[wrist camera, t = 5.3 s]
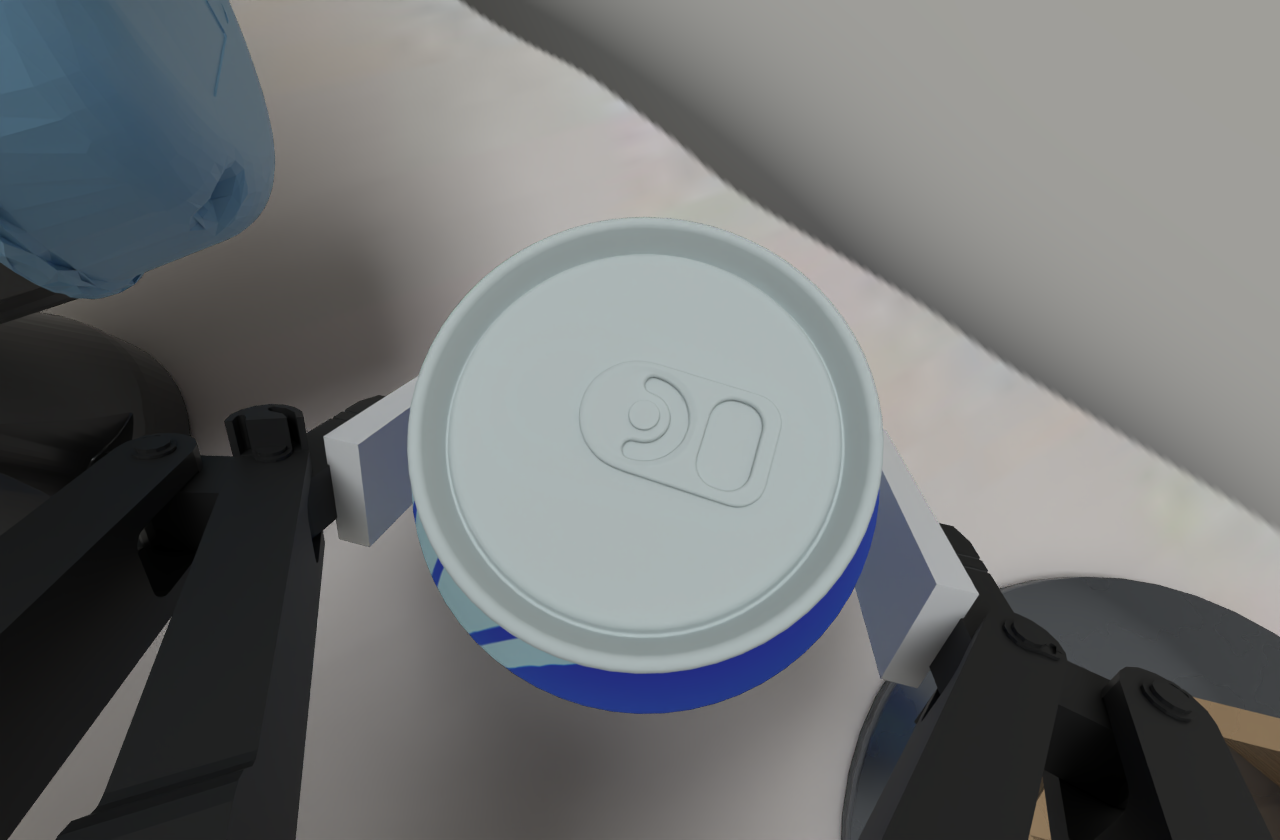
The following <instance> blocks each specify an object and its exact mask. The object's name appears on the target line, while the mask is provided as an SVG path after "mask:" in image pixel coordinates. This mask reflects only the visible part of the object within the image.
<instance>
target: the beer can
mask: <svg viewBox="0 0 1280 840" xmlns="http://www.w3.org/2000/svg"><path fill="white" fill-rule="evenodd" d="M883 445H884V438H883V424H882V415H881V409H880V404H879V398H878V394H877V390H876V387H875V383H874V380H873V376H872V373H871V371H870V368H869V365H868V363H867V360H866V358H865V355H864V353H863V351H862V349H861V347H860V345H859V343H858V341H857V339H856V338H855V336H854V334H853V332H852V331H851V329H850V328H849V326H848V325H847V323H846V321H845V320H844V318H843V317H842V316H841V314H840V313H839V312H838V310H837V309H836V308H835V307H834V305H833V304H832V303H831V301H830V300H829V299H828V298H827V297H826V296H825V295H824V294H823V293H822V292H821V291H820V290H819V288H818V287H817V286H816V285H815V284H813V283H812V282H811V281H810V280H809V279H808V278H807V277H806V276H805V275H803V274H802V273H801V272H800V271H799V270H797V269H796V268H795V267H793V266H792V265H791V264H789V263H788V262H787V261H785V260H784V259H782V258H781V257H779V256H777V255H776V254H774V253H773V252H771V251H769V250H768V249H766V248H764V247H762V246H760V245H758V244H756V243H754V242H752V241H750V240H748V239H746V238H744V237H741V236H739V235H736V234H734V233H731V232H729V231H726V230H722V229H719V228H716V227H713V226H710V225H705V224H701V223H696V222H692V221H686V220H678V219H671V218H656V217H634V218H621V219H611V220H605V221H600V222H595V223H589V224H586V225H582V226H578V227H575V228H571V229H568V230H565V231H563V232H560V233H557V234H554V235H552V236H549V237H547V238H545V239H543V240H541V241H539V242H536V243H534V244H532V245H530V246H529V247H527V248H525V249H523V250H522V251H520V252H518V253H516V254H515V255H513V256H512V257H510V258H509V259H507V260H506V261H504V262H503V263H502V264H500V265H499V266H497V267H496V268H495V269H494V270H492V271H491V272H490V273H489V274H488V275H486V276H485V277H484V278H483V279H482V280H481V281H480V282H479V283H478V284H477V285H476V286H474V287H473V288H472V289H471V290H470V291H469V292H468V293H467V294H466V296H465V297H464V298H463V299H462V300H461V302H460V303H459V304H458V305H457V306H456V307H455V309H454V310H453V311H452V313H451V314H450V316H449V317H448V318H447V320H446V321H445V323H444V324H443V326H442V327H441V329H440V331H439V332H438V334H437V336H436V338H435V339H434V341H433V343H432V345H431V347H430V349H429V351H428V353H427V355H426V358H425V360H424V362H423V364H422V367H421V370H420V373H419V376H418V379H417V382H416V385H415V389H414V393H413V398H412V402H411V406H410V414H409V422H408V436H407V455H408V468H409V476H410V482H411V489H412V502H413V513H414V518H415V524H416V529H417V534H418V538H419V541H420V545H421V548H422V551H423V555H424V558H425V561H426V563H427V566H428V568H429V570H430V573H431V575H432V578H433V580H434V582H435V584H436V586H437V588H438V590H439V592H440V593H441V595H442V597H443V599H444V601H445V603H446V604H447V606H448V607H449V608H450V610H451V611H452V613H453V614H454V616H455V617H456V619H457V620H458V622H459V623H460V624H461V625H462V626H463V628H464V629H465V630H466V631H467V632H468V633H469V635H470V636H471V637H472V638H473V639H474V640H475V642H476V643H478V644H479V645H480V646H481V647H482V648H483V649H484V650H485V651H486V652H487V653H488V654H489V655H490V656H491V657H493V658H494V659H495V660H496V661H497V662H499V663H500V664H501V665H503V666H504V667H505V668H507V669H508V670H509V671H511V672H512V673H513V674H515V675H517V676H518V677H520V678H522V679H523V680H525V681H527V682H528V683H530V684H532V685H534V686H535V687H537V688H539V689H541V690H544V691H546V692H548V693H550V694H553V695H555V696H557V697H559V698H562V699H565V700H568V701H571V702H574V703H577V704H580V705H583V706H587V707H592V708H597V709H602V710H607V711H612V712H623V713H634V714H651V713H669V712H677V711H685V710H691V709H695V708H699V707H703V706H707V705H711V704H715V703H718V702H721V701H724V700H726V699H729V698H732V697H735V696H737V695H740V694H742V693H744V692H746V691H748V690H750V689H752V688H754V687H756V686H758V685H760V684H762V683H764V682H765V681H767V680H768V679H770V678H772V677H773V676H775V675H776V674H778V673H779V672H781V671H782V670H784V669H785V668H787V667H788V666H789V665H790V664H791V663H793V662H794V661H795V660H796V659H798V658H799V657H800V656H801V655H803V654H804V653H805V652H806V651H807V650H808V649H809V648H810V647H811V646H812V645H813V644H814V643H815V642H816V641H817V640H818V639H819V638H820V637H821V636H822V635H823V633H824V632H825V631H826V630H827V628H828V627H829V626H830V624H831V623H832V622H833V621H834V619H835V618H836V617H837V616H838V614H839V612H840V611H841V609H842V608H843V606H844V604H845V603H846V601H847V600H848V598H849V597H850V595H851V593H852V591H853V589H854V587H855V585H856V583H857V581H858V579H859V577H860V574H861V572H862V570H863V567H864V564H865V561H866V559H867V556H868V553H869V550H870V547H871V543H872V539H873V535H874V531H875V527H876V521H877V514H878V506H879V492H880V481H881V474H882V466H883Z"/></svg>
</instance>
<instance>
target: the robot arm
mask: <svg viewBox="0 0 1280 840" xmlns="http://www.w3.org/2000/svg"><path fill="white" fill-rule="evenodd" d="M274 170H275V151H274V142H273V133H272V129H271V124H270V119H269V115H268V110H267V107H266V103H265V99H264V96H263V92H262V89H261V86H260V83H259V80H258V76H257V73H256V70H255V67H254V64H253V62H252V59H251V56H250V53H249V50H248V48H247V45H246V42H245V40H244V37H243V34H242V32H241V29H240V27H239V24H238V21H237V19H236V17H235V14H234V12H233V9H232V7H231V5H230V2H229V0H0V840H7V839H8V838H9V837H10V835H11V834H12V832H13V831H14V830H15V828H16V827H17V826H18V824H19V823H20V822H21V820H22V819H23V818H24V816H25V815H26V813H27V812H28V811H29V809H30V808H31V807H32V805H33V804H34V803H35V801H36V800H37V799H38V797H39V796H40V794H41V793H42V792H43V790H44V789H45V788H46V786H47V785H48V784H49V782H50V781H51V780H52V778H53V777H54V775H55V774H56V773H57V771H58V770H59V769H60V767H61V766H62V765H63V763H64V762H65V760H66V759H67V758H68V756H69V755H70V754H71V752H72V751H73V750H74V748H75V747H76V746H77V744H78V743H79V741H80V740H81V739H82V737H83V736H84V735H85V733H86V732H87V731H88V729H89V728H90V727H91V725H92V724H93V722H94V721H95V720H96V718H97V717H98V716H99V714H100V713H101V712H102V710H103V709H104V707H105V706H106V705H107V703H108V702H109V701H110V699H111V698H112V697H113V695H114V694H115V693H116V691H117V690H118V688H119V687H120V686H121V684H122V683H123V682H124V680H125V679H126V678H127V676H128V675H129V674H130V672H131V671H132V669H133V668H134V667H135V665H136V664H137V663H138V661H139V660H140V659H141V657H142V656H143V654H144V653H145V652H146V650H147V649H148V648H149V646H150V645H151V644H152V642H153V641H154V640H155V638H156V637H157V635H158V634H159V633H160V631H161V630H162V629H163V627H164V626H165V625H166V623H167V622H168V621H169V619H170V618H171V620H170V622H169V625H168V628H167V630H166V633H165V635H164V638H163V641H162V643H161V646H160V649H159V651H158V654H157V656H156V659H155V662H154V664H153V667H152V669H151V672H150V675H149V677H148V680H147V682H146V685H145V688H144V690H143V693H142V695H141V698H140V701H139V703H138V706H137V709H136V711H135V714H134V716H133V719H132V722H131V724H130V727H129V729H128V732H127V735H126V737H125V740H124V742H123V745H122V748H121V750H120V753H119V756H118V758H117V761H116V763H115V766H114V769H113V771H112V774H111V776H110V779H109V782H108V784H107V787H106V789H105V792H104V794H103V797H102V799H101V801H100V803H99V805H98V806H97V808H96V809H95V810H94V811H93V812H92V813H91V814H90V815H88V816H85V817H82V818H79V819H76V820H73V821H71V822H70V823H69V824H68V825H67V826H66V828H65V829H64V830H63V831H62V832H61V833H60V834H59V835H58V836H57V838H56V840H296V830H297V819H298V809H299V799H300V789H301V779H302V769H303V759H304V749H305V739H306V729H307V719H308V709H309V699H310V688H311V678H312V668H313V658H314V648H315V638H316V628H317V618H318V608H319V598H320V588H321V578H322V567H323V557H324V547H325V541H324V535H323V530H324V529H325V528H326V527H327V526H328V525H330V524H331V523H332V522H333V521H334V520H335V519H336V523H337V529H338V536H339V539H341V540H345V541H349V542H352V543H356V544H360V545H364V546H368V547H370V546H371V545H372V544H373V543H374V542H375V541H376V540H377V539H378V538H379V537H380V536H381V535H382V534H383V533H384V532H385V531H386V530H387V529H388V528H389V527H390V526H391V525H392V524H393V523H394V522H395V521H396V520H397V519H398V518H399V517H400V516H401V515H402V514H403V513H404V512H405V511H406V510H407V509H408V507H409V506H410V505H411V504H412V503H413V502H412V489H411V482H410V476H409V468H408V455H407V436H408V422H409V414H410V406H411V402H412V398H413V393H414V389H415V385H416V382H417V379H418V376H419V375H418V376H417V377H415V378H414V379H412V380H411V381H409V382H408V383H406V384H404V385H403V386H401V387H400V388H398V389H397V390H395V391H394V392H392V393H390V394H389V395H387V396H386V397H385V396H381V395H378V396H375V397H371V398H368V399H365V400H362V401H359V402H357V403H356V404H354V405H352V406H351V407H349V408H347V409H346V410H345V412H341V413H339V414H338V415H336V416H334V418H333V419H329V420H328V421H326V422H325V423H323V424H321V425H320V426H318V427H316V428H315V429H313V430H311V431H310V432H308V433H306V429H305V423H304V417H303V414H302V411H300V410H299V409H297V408H295V407H292V406H288V405H278V404H268V405H259V406H253V407H249V408H246V409H242V410H240V411H238V412H236V413H233V414H231V415H230V416H229V417H228V418H227V419H226V420H225V421H224V422H225V426H226V430H227V434H228V438H229V442H230V446H231V450H232V454H233V457H230V456H202V455H200V453H199V449H198V446H197V443H196V441H195V438H192V437H190V433H189V423H188V416H187V412H186V408H185V404H184V402H183V399H182V396H181V394H180V392H179V390H178V387H177V386H176V384H175V382H174V381H173V379H172V378H171V376H170V375H169V374H168V372H167V371H166V370H165V369H164V368H163V367H162V366H161V364H159V363H158V362H157V361H156V360H155V359H154V358H153V357H151V356H150V355H148V354H147V353H146V352H144V351H142V350H141V349H139V348H137V347H135V346H133V345H131V344H129V343H127V342H124V341H122V340H120V339H118V338H116V337H114V336H112V335H109V334H107V333H105V332H103V331H101V330H99V329H96V328H94V327H92V326H90V325H87V324H84V323H82V322H78V321H75V320H72V319H69V318H65V317H61V316H57V315H51V314H46V313H40V312H39V311H42V310H45V309H48V308H51V307H54V306H57V305H60V304H63V303H66V302H69V301H72V300H75V299H78V298H84V299H98V298H104V297H108V296H111V295H114V294H117V293H120V292H123V291H124V290H126V289H128V288H129V287H131V286H132V285H134V284H135V283H136V282H138V281H139V280H140V279H141V278H142V276H143V274H144V272H147V271H149V270H152V269H154V268H157V267H160V266H162V265H165V264H167V263H170V262H172V261H175V260H177V259H180V258H182V257H185V256H187V255H190V254H192V253H195V252H197V251H200V250H202V249H205V248H207V247H210V246H212V245H215V244H217V243H220V242H222V241H225V240H228V239H230V238H232V237H234V236H236V235H237V234H239V233H241V232H242V231H243V230H245V229H246V228H247V227H248V226H250V225H251V224H252V223H253V222H254V221H255V220H256V219H257V218H258V216H259V215H260V214H261V212H262V211H263V209H264V208H265V206H266V204H267V202H268V199H269V197H270V194H271V190H272V187H273V182H274ZM883 438H884V445H883V466H882V474H881V481H880V492H879V506H878V514H877V521H876V527H875V531H874V535H873V539H872V543H871V547H870V550H869V553H868V556H867V559H866V561H865V564H864V567H863V570H862V572H861V574H860V577H859V579H858V581H857V583H856V585H855V589H856V592H857V596H858V599H859V603H860V607H861V610H862V614H863V617H864V621H865V625H866V628H867V632H868V635H869V639H870V642H871V646H872V650H873V653H874V657H875V660H876V664H877V668H878V671H879V675H880V678H881V679H883V680H887V681H891V682H895V683H899V684H903V685H907V686H910V687H914V688H918V687H919V685H920V684H921V682H922V681H923V679H924V678H925V676H926V675H927V673H928V672H929V670H931V673H932V675H933V678H934V680H935V683H936V686H937V689H936V690H935V692H934V693H933V695H932V696H931V698H930V699H929V701H928V702H927V704H926V705H925V707H924V708H923V709H922V711H921V712H920V714H919V715H918V717H917V718H916V720H915V721H914V723H916V724H917V725H916V727H915V729H914V731H913V733H912V734H911V736H910V738H909V740H908V742H907V744H906V746H905V748H904V750H903V752H902V754H901V756H900V758H899V760H898V762H897V764H896V766H895V768H894V770H893V772H892V774H891V776H890V778H889V780H888V782H887V784H886V786H885V787H884V789H883V791H882V793H881V795H880V797H879V799H878V801H877V803H876V805H875V807H874V809H873V811H872V813H871V815H870V817H869V819H868V821H867V823H866V825H865V827H864V829H863V831H862V833H861V835H860V837H859V839H858V840H1028V839H1029V834H1030V830H1031V825H1032V821H1033V816H1034V812H1035V807H1036V803H1037V798H1038V794H1039V789H1040V785H1041V780H1042V776H1043V784H1044V791H1045V798H1046V806H1047V813H1048V820H1049V828H1050V835H1051V840H1273V838H1272V836H1271V834H1270V832H1269V830H1268V828H1267V826H1266V824H1265V821H1264V819H1263V817H1262V815H1261V813H1260V811H1259V809H1258V807H1257V805H1256V803H1255V801H1254V799H1253V797H1252V795H1251V793H1250V791H1249V789H1248V787H1247V785H1246V783H1245V781H1244V779H1243V777H1242V775H1241V773H1240V770H1239V768H1238V766H1237V764H1236V762H1235V760H1234V758H1233V756H1232V754H1231V752H1230V750H1229V748H1228V746H1227V744H1226V742H1225V740H1224V738H1223V736H1222V734H1221V732H1220V730H1219V728H1218V726H1217V724H1216V722H1215V721H1214V720H1213V718H1212V717H1211V715H1210V714H1209V713H1208V711H1207V710H1206V709H1205V708H1204V707H1203V706H1202V705H1201V704H1200V703H1199V702H1198V701H1196V700H1195V699H1194V698H1193V696H1192V695H1191V694H1189V693H1188V692H1187V691H1185V690H1184V689H1181V688H1180V686H1178V685H1177V684H1175V683H1173V682H1172V681H1170V680H1167V679H1165V678H1163V677H1161V676H1160V675H1158V674H1156V673H1153V672H1150V671H1148V670H1145V669H1142V668H1139V667H1125V668H1123V669H1121V670H1120V671H1119V672H1118V673H1117V674H1116V675H1115V676H1114V677H1113V678H1112V679H1111V680H1109V679H1107V678H1104V677H1102V676H1100V675H1098V674H1096V673H1093V672H1091V671H1089V670H1087V669H1085V668H1082V667H1080V666H1078V665H1076V664H1074V663H1071V662H1070V661H1068V660H1067V657H1066V653H1065V651H1064V650H1063V648H1062V647H1061V645H1060V644H1059V642H1058V641H1057V640H1056V639H1055V638H1054V637H1053V636H1052V635H1051V634H1050V633H1049V632H1048V631H1046V630H1045V629H1044V628H1042V627H1041V626H1039V625H1038V624H1036V623H1035V622H1033V621H1032V620H1030V619H1028V618H1026V617H1023V616H1021V615H1019V614H1017V613H1014V612H1013V610H1012V608H1011V607H1010V605H1009V604H1008V602H1007V600H1006V599H1005V597H1004V596H1003V594H1002V592H1001V591H1000V589H999V588H998V586H997V584H996V583H995V581H994V580H993V578H992V576H991V575H990V574H989V573H987V571H988V570H987V568H986V567H985V565H984V563H983V562H982V561H981V560H979V558H980V557H979V555H978V554H977V552H976V551H975V549H974V547H973V546H972V544H971V543H970V541H969V540H967V539H966V538H965V537H964V536H963V535H962V534H961V533H960V532H959V531H958V530H957V529H955V528H954V527H953V526H949V525H945V524H941V523H938V521H937V519H936V517H935V516H934V514H933V512H932V510H931V509H930V507H929V505H928V503H927V502H926V500H925V498H924V496H923V494H922V493H921V491H920V489H919V487H918V486H917V484H916V482H915V480H914V479H913V477H912V475H911V473H910V471H909V470H908V468H907V466H906V464H905V463H904V461H903V459H902V457H901V456H900V454H899V452H898V450H897V449H896V447H895V445H894V443H893V441H892V440H891V438H890V436H889V434H888V433H887V431H886V430H883ZM171 616H172V617H171Z"/></svg>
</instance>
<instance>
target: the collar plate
mask: <svg viewBox="0 0 1280 840" xmlns="http://www.w3.org/2000/svg"><path fill="white" fill-rule="evenodd" d="M1000 591H1001V592H1002V594H1003V596H1004V597H1005V599H1006V600H1007V602H1008V604H1009V605H1010V607H1011V608H1012V610H1013V612H1014V613H1017V614H1019V615H1021V616H1023V617H1026V618H1028V619H1030V620H1032V621H1033V622H1035V623H1036V624H1038V625H1039V626H1041V627H1042V628H1044V629H1045V630H1046V631H1048V632H1049V633H1050V634H1051V635H1052V636H1053V637H1054V638H1055V639H1056V640H1057V641H1058V642H1059V644H1060V645H1061V647H1062V648H1063V650H1064V651H1065V653H1066V657H1067V660H1068V661H1070V662H1071V663H1074V664H1076V665H1078V666H1080V667H1082V668H1085V669H1087V670H1089V671H1091V672H1093V673H1096V674H1098V675H1100V676H1102V677H1104V678H1107V679H1109V680H1111V679H1112V678H1113V677H1114V676H1115V675H1116V674H1117V673H1118V672H1119V671H1120V670H1121V669H1123V668H1125V667H1139V668H1142V669H1145V670H1148V671H1150V672H1153V673H1156V674H1158V675H1160V676H1161V677H1163V678H1165V679H1167V680H1170V681H1172V682H1173V683H1175V684H1177V685H1178V686H1180V688H1181V689H1184V690H1185V691H1187V692H1188V693H1189V694H1191V695H1192V696H1193V698H1194V699H1195V700H1196V701H1198V702H1199V703H1200V704H1201V705H1202V706H1203V707H1204V708H1205V709H1206V710H1207V711H1208V713H1209V714H1210V715H1211V717H1212V718H1213V720H1214V721H1215V722H1216V724H1217V726H1218V728H1219V730H1220V732H1221V734H1222V736H1223V738H1224V740H1225V742H1226V744H1227V746H1228V748H1229V750H1230V752H1231V754H1232V756H1233V758H1234V760H1235V762H1236V764H1237V766H1238V768H1239V770H1240V773H1241V775H1242V777H1243V779H1244V781H1245V783H1246V785H1247V787H1248V789H1249V791H1250V793H1251V795H1252V797H1253V799H1254V801H1255V803H1256V805H1257V807H1258V809H1259V811H1260V813H1261V815H1262V817H1263V819H1264V821H1265V824H1266V826H1267V828H1268V830H1269V832H1270V834H1271V836H1272V838H1273V840H1280V637H1279V636H1277V635H1276V634H1274V633H1273V632H1271V631H1269V630H1267V629H1265V628H1263V627H1262V626H1260V625H1258V624H1256V623H1254V622H1252V621H1251V620H1249V619H1247V618H1245V617H1243V616H1241V615H1240V614H1238V613H1236V612H1234V611H1231V610H1229V609H1226V608H1224V607H1222V606H1219V605H1217V604H1214V603H1212V602H1210V601H1207V600H1205V599H1203V598H1200V597H1198V596H1195V595H1191V594H1188V593H1184V592H1181V591H1178V590H1174V589H1171V588H1167V587H1164V586H1161V585H1156V584H1150V583H1145V582H1139V581H1133V580H1127V579H1120V578H1095V577H1064V578H1054V579H1044V580H1034V581H1029V582H1025V583H1021V584H1017V585H1013V586H1009V587H1005V588H1001V589H1000ZM936 689H937V686H936V683H935V680H934V678H933V675H932V673H931V670H929V672H928V673H927V675H926V676H925V678H924V679H923V681H922V682H921V684H920V685H919V687H918V688H914V687H910V686H907V685H903V684H899V683H895V682H891V681H887V680H886V682H885V683H884V685H883V687H882V688H881V690H880V691H879V693H878V695H877V696H876V698H875V700H874V703H873V705H872V707H871V710H870V712H869V714H868V716H867V719H866V721H865V723H864V726H863V728H862V730H861V733H860V736H859V740H858V743H857V746H856V750H855V753H854V757H853V760H852V764H851V767H850V771H849V777H848V783H847V789H846V796H845V802H844V808H843V816H842V840H858V839H859V837H860V835H861V833H862V831H863V829H864V827H865V825H866V823H867V821H868V819H869V817H870V815H871V813H872V811H873V809H874V807H875V805H876V803H877V801H878V799H879V797H880V795H881V793H882V791H883V789H884V787H885V786H886V784H887V782H888V780H889V778H890V776H891V774H892V772H893V770H894V768H895V766H896V764H897V762H898V760H899V758H900V756H901V754H902V752H903V750H904V748H905V746H906V744H907V742H908V740H909V738H910V736H911V734H912V733H913V731H914V729H915V727H916V725H917V724H916V723H914V721H915V720H916V718H917V717H918V715H919V714H920V712H921V711H922V709H923V708H924V707H925V705H926V704H927V702H928V701H929V699H930V698H931V696H932V695H933V693H934V692H935V690H936ZM1028 840H1051V835H1050V828H1049V820H1048V813H1047V806H1046V798H1045V791H1044V784H1043V776H1042V780H1041V785H1040V789H1039V794H1038V798H1037V803H1036V807H1035V812H1034V816H1033V821H1032V825H1031V830H1030V834H1029V839H1028Z"/></svg>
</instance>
